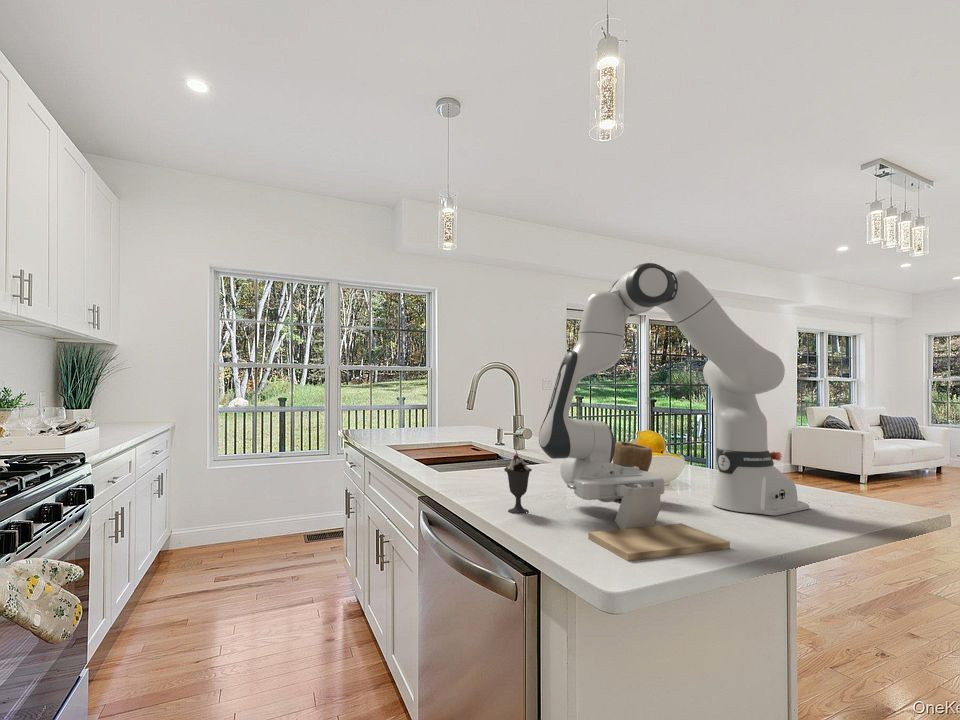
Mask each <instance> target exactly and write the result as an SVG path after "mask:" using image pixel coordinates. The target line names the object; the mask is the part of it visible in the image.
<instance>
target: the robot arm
mask: <svg viewBox="0 0 960 720" xmlns="http://www.w3.org/2000/svg"><path fill="white" fill-rule="evenodd" d="M655 307H657V308H660V309H662V310H663V311H664V312H665V313H666V314H667V315H668V316H669V317H670V320H672V322H673V323H674V325H675V326H676V327H677V328H678V330H679V331H680V333H682V335H683V336H684V338H685V339H686V341H688V343H689V345H690V346H691V347H692V348H693V349H694V350H695V351H698V352H699V353H701V354H702V355H704V356H705V357H706V358H707V359H708V360H707V361H706V363H705V364H704V366H703V369H702V374H703V380H704V381H705V383H706V384H707V385H708V387H709V390H710V394H711V397H712V401H713V405H714V408H715V414H716V421H717V423H716V424H717V448H716V451H715V452H716V453H715V454H716V455H715V458H716V459H715V460H716V464H717V472H716V482H715V488H714V494H713V499H712V502H711V504H712V505H713V506H715V507H717V508H719V509H724V510H729V511H733V512H739V513H750V514H761V515H765V516H767V515H768V516H781V515H785V514H790V513H795V512H801V511H804V510H809V509H810V505H809V503H806V502H805V501H801V500H798V499H799V498H798V490H797V486H796V484H795V482H794V481H793V480H791V479H790V478H789V477H788V476H787V475H786V474H784V473H783V472H782V471H780V470H779V469H778V468H777V467H776V466H775V463H774V460H776V461H781V460H782V458H783V456H782V455H783V454H782V453H781V452H780V451H779V452H778V451H772V452H770V451H769V449H768V420H767V417H766V416H765V414H764V413H763V412H762V409H761V408H760V406H759V402H758V400H757V397H756V396H757V395H760V394H764V393H767V392H770V391H773V390H774V389H777V388H778V387H779V386H780V385H781V383H782V382H783V380H784V378H785V374H786V373H785V371H786V370H785V364H784V362H783V359H781V358H780V357H779V356H778V355H777V354H776V353H774V352H772V351H770V350H768V349H767V348H764V347H763V346H761V345H760V344H759V343H758V342H757V341H755V340H754V338H752V337H751V336H749V335H748V334H747V333H746V332H745V331H743V330H742V329H741V328H740V327H739V326H738V325H737V324H736V323H735V322H734V321H733V320H732V319H731V318H730V316H729V315H728V314H727V313H726V311H725V310H724V309H723V308H722V306H721V304H719V302H718V301H717V300H716V299H715V297H714V296H713V295H712V293H711V292H710V291H709V290H708V289H707V288H706V287H705V285H704V284H703V283H702V282H701V281H700V280H699V279H698V278H696V276H695V275H693V273H691V272H689V271H687V270H684V269H680V270H674V271H672V270H671V271H670V270H669V269H667V268H665V267H664V266H662V265H660V264H658V263H653V262H645V263H641V264H638V265H637V266H635V267H633V268H631V269H629V270H627V271H626V272H625V273H624V274H622V276H621V277H620V278H618V279H617V280H616V281H615V282H614V283H613V284H612V286H611V287H610V288H609V290H607V291H606V290H603V291H602V290H600V291H597V292H595V293H592V294H591V295H589V296H588V298H587V299H586V301H585V304H584V307H583V311H582V316H581V319H580V324H579V331H578V332H579V333H578V337H577V340H576V341H577V342H576V344H575V346H574V348H573V349H572V351H570V352H567V353H566V354H565V355H564V357H563V359H562V362H561V363H560V367H559V370H558V374H557V377H556V379H555V384H554V387H553V390H552V395H551V397H550V400H549V401H550V402H549V404H548V407H547V408H548V409H547V411H546V413H545V417H544V419H543V421H542V424H541V426H540V429H539V434H538V444H539V446H540V448H541V450H542V451H543V452H544V453H545V455H547V456H548V457H549V458H551V459H553V460H554V459H556V460H557V459H560V460H561V459H564V460H563V461H562V462H561V464H560V468H559V470H560V477H561V478H562V480H563V482H564V484H565V485H566V487H567V488H569V489H571V490H573V493H574V494H575V496H576V497H578V498H580V499H582V500H586V501H591V500H594V501H595V500H598V501H600V502H602V503H611V502H615V501H616V500H621V499H620V498H622V497H625V496H626V495H627V494H628V492H629V491H630V490H631V488H644V487H659V486H660V488H661V495H663V494H665V489H666V488H665V487H666V486H665V479H664V477H662V476H661V475H658V474H655V473H652V472H650V471H648V472H647V471H642V470H639V467H636V466H626V465H617V464H613V456H614V452H615V444H616V438H615V435H614V433H613V431H612V429H611V428H610V426H609V425H608V423H606V422H605V421H599V420H592V419H580V418H571V417H569V413H570V410H571V406H572V403H573V399H574V395H575V391H576V387H577V385H578V384H579V383H580V381H581V380H583V379H584V378H586V377H588V376H590V375H595V374H597V373H601V372H604V371H607V370H608V369H609V370H610V369H611V368H612V367H613V366H615V365H616V364H617V363H618V362H619V360H621V357H622V353H623V350H624V344H625V343H624V342H625V329H626V328H625V327H626V324H627V320H628V319H629V317H634V316H637V315H640V314H643V313H644V314H645V313H647V312H649V311H651V310H652V309H653V308H655Z"/></svg>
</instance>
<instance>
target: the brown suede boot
mask: <svg viewBox="0 0 960 720" xmlns="http://www.w3.org/2000/svg"><path fill="white" fill-rule="evenodd" d="M652 459H653V452H652V448H651V447H649V446H645V445H641V444H640V445H639V444H637V443H636V444H634V443H631V442H627V441H622V440H621V441H620V440H619V441H617V442H615V452H614V456H613V459H612V463H613V464H617V465H626V466H636V467H639V470H642V471H647V472H649V469H650V467H651V464H652ZM622 498H623V497H622ZM622 498H620V499H619V500H622Z"/></svg>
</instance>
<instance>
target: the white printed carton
mask: <svg viewBox="0 0 960 720" xmlns="http://www.w3.org/2000/svg"><path fill="white" fill-rule="evenodd" d="M661 495H662V494H661V488H660V486H659V487H644V488H631V490H630V491H629V492H628V494H627V495H626V496H625V497H623V498H622V499H621V501H620V505H619V506H618V510H617V514H616V515H615V519H614V522H616V525H617V526H618V528H619V529H628V528H638V527H648V526H655V525H656V521H657V519H658V516H659V514H660V511H661Z"/></svg>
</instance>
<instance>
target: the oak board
mask: <svg viewBox="0 0 960 720" xmlns="http://www.w3.org/2000/svg"><path fill="white" fill-rule="evenodd" d="M587 534H588V537H587V538H588V539H589V540H590V541H592V542H594V543H595V544H597V545H599V546H601V547H603V549H607V550H608V551H610V552H611V553H612V554H615V555H617V556H618V557H620V558H622V559H624V560H626V561H628V562H630V560H631V561H637V560H646V559H655V558H662V557H663V558H664V557H671V556H679V555H687V554H688V555H689V554H695V553H704V552H712V551H721V550H720V549H722V550H728V549H727V548H730V549H731V542H730V541H729V540H725V538H724V539H723V538H721V537H718V536H716V535H713V534H710V533H708V532H705V531H702V530H700V529H698V528H694V527H692V526H689V525H687V524H685V523H684V524H683V523H682V522H680V523H679V522H678V523H670V524H661V525H660V524H659V525H658V524H657V525H654V526H648V527H638V528H628V529H620V528H619V529H608V530H599V531H598V530H597V531H590V532H588V533H587Z"/></svg>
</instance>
